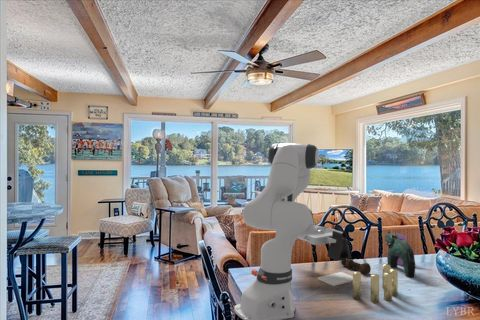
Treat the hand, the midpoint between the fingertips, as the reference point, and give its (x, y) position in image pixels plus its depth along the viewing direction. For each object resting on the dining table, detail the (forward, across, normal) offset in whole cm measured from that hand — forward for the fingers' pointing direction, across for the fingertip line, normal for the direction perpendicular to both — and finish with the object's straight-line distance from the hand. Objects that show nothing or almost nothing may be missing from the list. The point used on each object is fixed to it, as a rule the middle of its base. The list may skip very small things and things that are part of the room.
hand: (339, 241), depth 145 cm
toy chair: (-1, +48, +18) cm, 51 cm away
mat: (-1, 0, +17) cm, 17 cm away
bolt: (-5, +18, +18) cm, 26 cm away
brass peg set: (+21, 0, +17) cm, 27 cm away
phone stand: (0, 0, +8) cm, 8 cm away
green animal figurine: (+7, +36, +18) cm, 41 cm away
